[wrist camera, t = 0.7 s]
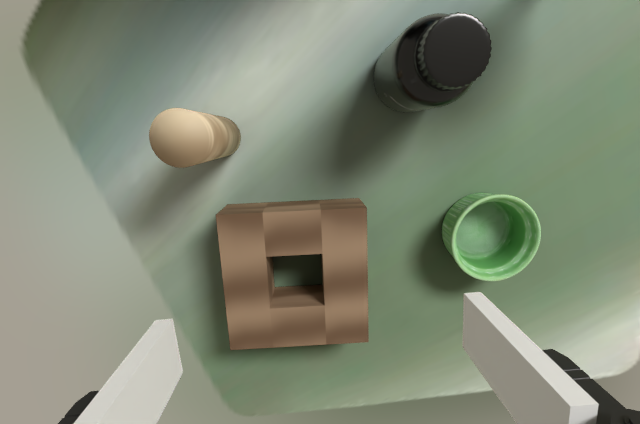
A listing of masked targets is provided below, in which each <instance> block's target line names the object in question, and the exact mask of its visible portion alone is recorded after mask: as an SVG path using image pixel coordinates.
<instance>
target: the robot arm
mask: <svg viewBox="0 0 640 424" xmlns="http://www.w3.org/2000/svg"><path fill="white" fill-rule="evenodd" d="M463 348H464V350H465V351H466V352H467V354H468V355H469V357H470V358H471V359H472V361H473V362H474V364H475V365H476V367H477V368H478V369H479V371H480V372H481V374H482V375H483V376H484V378H485V379H486V381H487V382H488V383H489V385H490V386H491V388H492V389H493V391H494V392H495V393H496V395H497V396H498V397H499V399H500V400H501V402H502V403H503V405H504V406H505V407H506V409H507V410H508V412H509V413H510V415H511V416H512V417H513V419H514V420H515V421H516V423H517V424H640V411H635V410H631V409H626V408H625V407H623V406H622V405H621V404H620V403H619V402H618V401H617V400H616V399H614V398H613V397H612V396H611V395H610V394H609V393H608V392H606V391H605V390H604V389H603V388H602V387H601V386H600V385H598V384H597V383H596V382H595V381H594V380H593V379H590V377H589V376H588V375H587V374H586V373H585V372H584V371H583V370H580V368H579V367H578V366H577V365H576V364H575V363H574V362H572V361H571V360H570V359H569V358H568V357H566V356H564V355H562V354H561V353H559V352H557V351H555V350H553V349H548V350H541V349H540V348H539V347H538V346H537V345H536V344H535V343H534V342H533V341H532V340H531V339H530V338H529V337H528V336H526V335H525V334H524V333H523V332H522V331H521V330H520V329H519V328H518V327H517V326H516V325H515V324H514V323H513V322H512V321H511V320H510V319H509V318H508V317H506V316H505V315H504V314H503V313H502V312H501V311H500V310H499V309H498V308H497V307H496V306H495V305H494V304H493V303H492V302H491V301H490V300H489V299H488V298H486V297H485V296H484V295H483V294H482V293H481V292H474V293H464V308H463ZM182 373H183V369H182V364H181V359H180V354H179V349H178V344H177V338H176V334H175V328H174V323H173V319H164V320H155V321H154V323H153V324H152V325H151V327H150V328H149V329H148V330H147V331H146V333H145V334H144V335H143V337H142V338H141V339H140V340H139V342H138V343H137V344H136V345H135V347H134V348H133V349H132V350H131V352H130V353H129V354H128V355H127V357H126V358H125V359H124V361H123V362H122V363H121V365H120V366H119V367H118V368H117V369H116V371H115V372H114V373H113V374H112V376H111V377H110V378H109V379H108V381H107V382H106V383H105V385H104V386H103V387H102V388H101V390H100V391H91V392H89V393H88V394H87V395H85V396H84V397H83V398H81V399H80V400H79V401H78V402H76V403H75V404H74V405H73V407H72V408H71V409H70V410H69V411H68V413H67V414H66V415H65V418H63V419H62V420H61V421H60V422H59V423H58V424H157V422H158V420H159V418H160V416H161V414H162V412H163V410H164V408H165V406H166V404H167V402H168V400H169V398H170V396H171V395H172V392H173V391H174V389H175V387H176V385H177V383H178V381H179V379H180V377H181V375H182Z"/></svg>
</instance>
